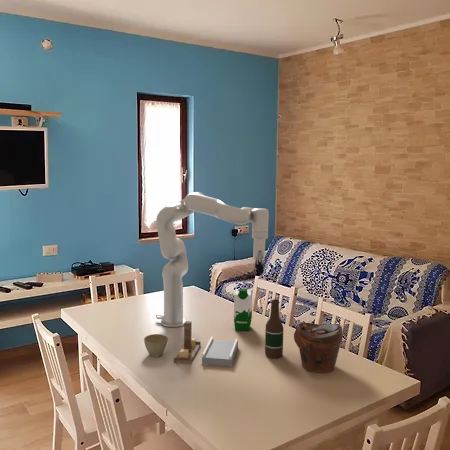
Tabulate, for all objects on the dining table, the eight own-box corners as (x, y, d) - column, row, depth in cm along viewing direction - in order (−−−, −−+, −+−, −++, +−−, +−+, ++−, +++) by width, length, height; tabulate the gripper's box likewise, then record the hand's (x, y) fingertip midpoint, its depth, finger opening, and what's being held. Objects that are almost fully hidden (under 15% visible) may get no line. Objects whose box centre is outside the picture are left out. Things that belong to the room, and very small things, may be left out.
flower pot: (139, 357, 202) (139, 340, 201) (151, 348, 211) (151, 332, 210) (161, 360, 198) (161, 344, 197) (172, 351, 208) (172, 335, 207)
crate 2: (187, 346, 210) (187, 340, 210) (188, 344, 213) (188, 337, 213) (193, 347, 210) (193, 340, 210) (195, 344, 213) (195, 338, 212)
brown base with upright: (190, 363, 196) (190, 330, 194) (173, 362, 197) (173, 329, 195) (200, 346, 214) (200, 315, 212) (185, 345, 215) (185, 314, 213)
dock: (201, 364, 195) (201, 354, 195) (211, 345, 215) (211, 336, 214) (231, 366, 194) (231, 356, 193) (237, 347, 213) (238, 338, 213)
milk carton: (232, 331, 234) (233, 290, 231) (234, 324, 243) (235, 285, 240) (251, 331, 233) (252, 291, 230) (252, 325, 242) (252, 286, 239)
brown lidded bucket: (284, 361, 199) (286, 319, 197) (324, 354, 207) (327, 314, 205) (307, 380, 183) (310, 335, 181) (350, 372, 191) (353, 328, 188)
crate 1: (179, 358, 198) (179, 351, 197) (181, 355, 201) (181, 348, 200) (186, 359, 197) (186, 352, 197) (188, 356, 200) (188, 349, 200)
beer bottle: (284, 352, 208) (286, 298, 205) (280, 359, 201) (282, 303, 198) (267, 350, 211) (268, 296, 207) (262, 357, 203) (263, 301, 200)
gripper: (251, 231, 236) (250, 266, 238) (252, 237, 219) (251, 274, 221) (266, 232, 236) (265, 266, 238) (269, 237, 218) (268, 274, 221)
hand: (258, 270), depth 229 cm, fingers open, 9 cm apart
